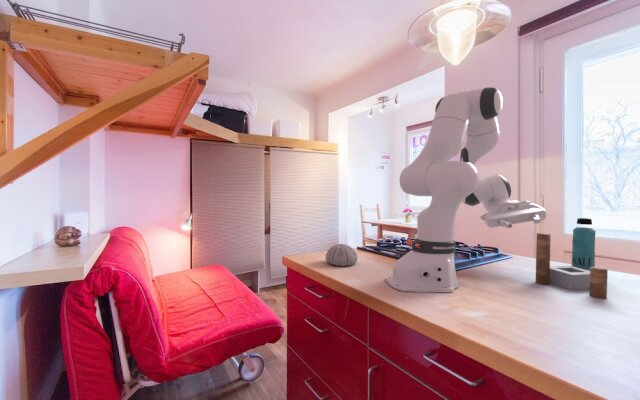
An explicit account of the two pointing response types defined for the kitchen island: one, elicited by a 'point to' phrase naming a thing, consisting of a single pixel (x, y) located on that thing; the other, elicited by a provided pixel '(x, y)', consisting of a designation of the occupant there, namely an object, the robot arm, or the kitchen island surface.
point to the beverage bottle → (583, 245)
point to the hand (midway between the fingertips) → (524, 223)
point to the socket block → (570, 277)
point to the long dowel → (543, 258)
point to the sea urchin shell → (341, 255)
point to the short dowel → (598, 282)
